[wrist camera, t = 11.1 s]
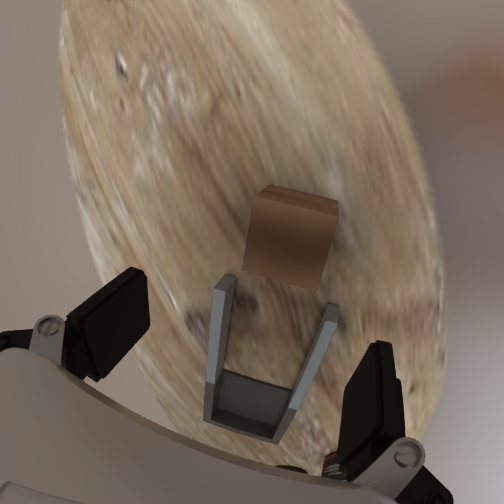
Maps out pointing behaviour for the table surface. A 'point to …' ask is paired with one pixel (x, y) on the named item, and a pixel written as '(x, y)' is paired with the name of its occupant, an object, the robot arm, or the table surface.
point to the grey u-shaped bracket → (250, 390)
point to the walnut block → (290, 236)
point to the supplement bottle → (332, 469)
